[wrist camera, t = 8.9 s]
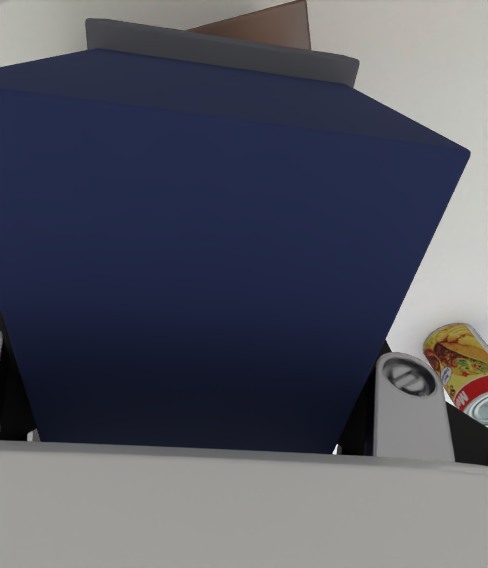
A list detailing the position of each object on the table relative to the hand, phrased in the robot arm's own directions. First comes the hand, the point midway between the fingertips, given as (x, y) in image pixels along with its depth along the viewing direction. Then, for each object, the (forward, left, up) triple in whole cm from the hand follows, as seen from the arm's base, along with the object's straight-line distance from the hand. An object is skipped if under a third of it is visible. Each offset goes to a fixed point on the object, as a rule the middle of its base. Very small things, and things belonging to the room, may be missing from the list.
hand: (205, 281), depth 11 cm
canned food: (+28, +38, -32) cm, 57 cm away
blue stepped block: (+2, 0, -2) cm, 3 cm away
